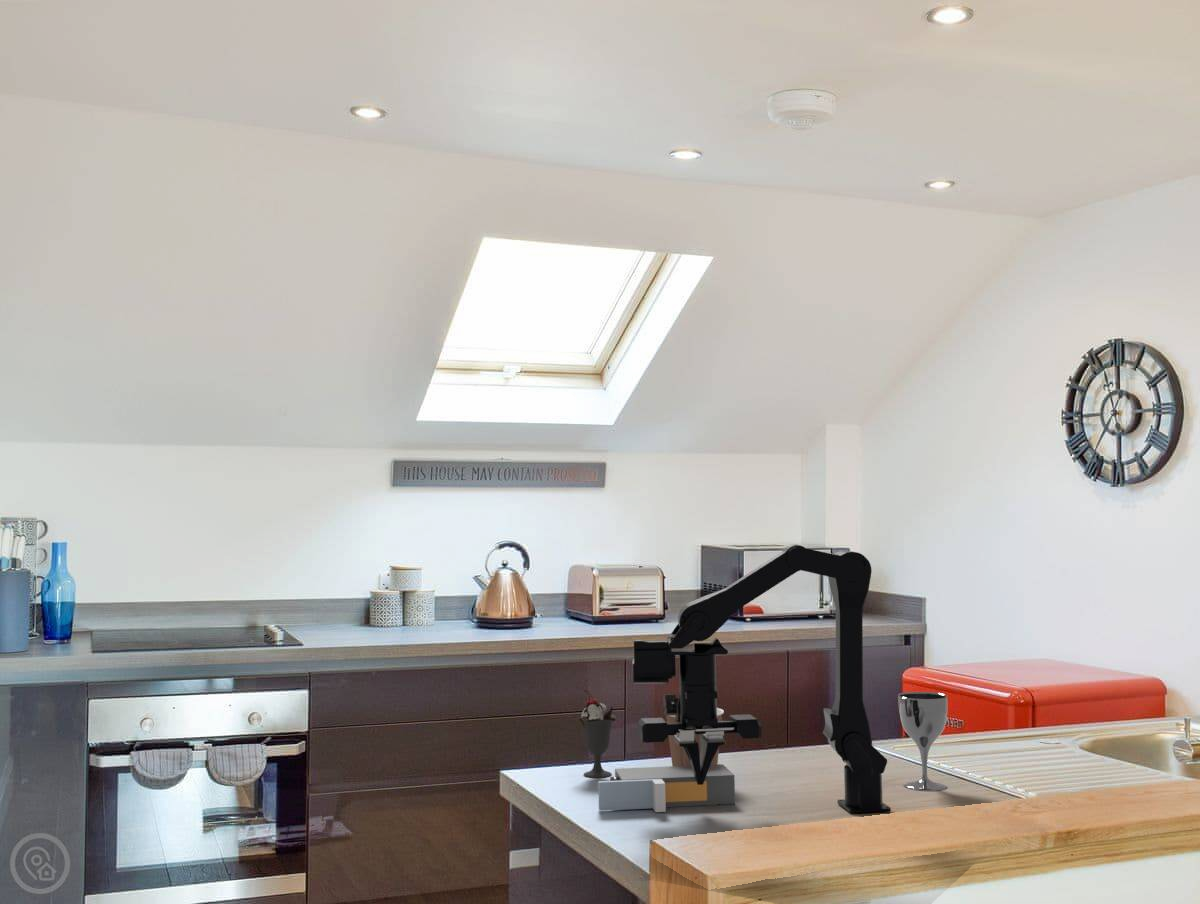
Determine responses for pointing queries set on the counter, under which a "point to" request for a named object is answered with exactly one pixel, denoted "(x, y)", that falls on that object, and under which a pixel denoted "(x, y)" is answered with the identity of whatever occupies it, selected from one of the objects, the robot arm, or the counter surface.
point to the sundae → (596, 733)
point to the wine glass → (923, 728)
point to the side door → (632, 794)
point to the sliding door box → (686, 784)
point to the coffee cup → (678, 752)
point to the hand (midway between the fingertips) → (699, 784)
